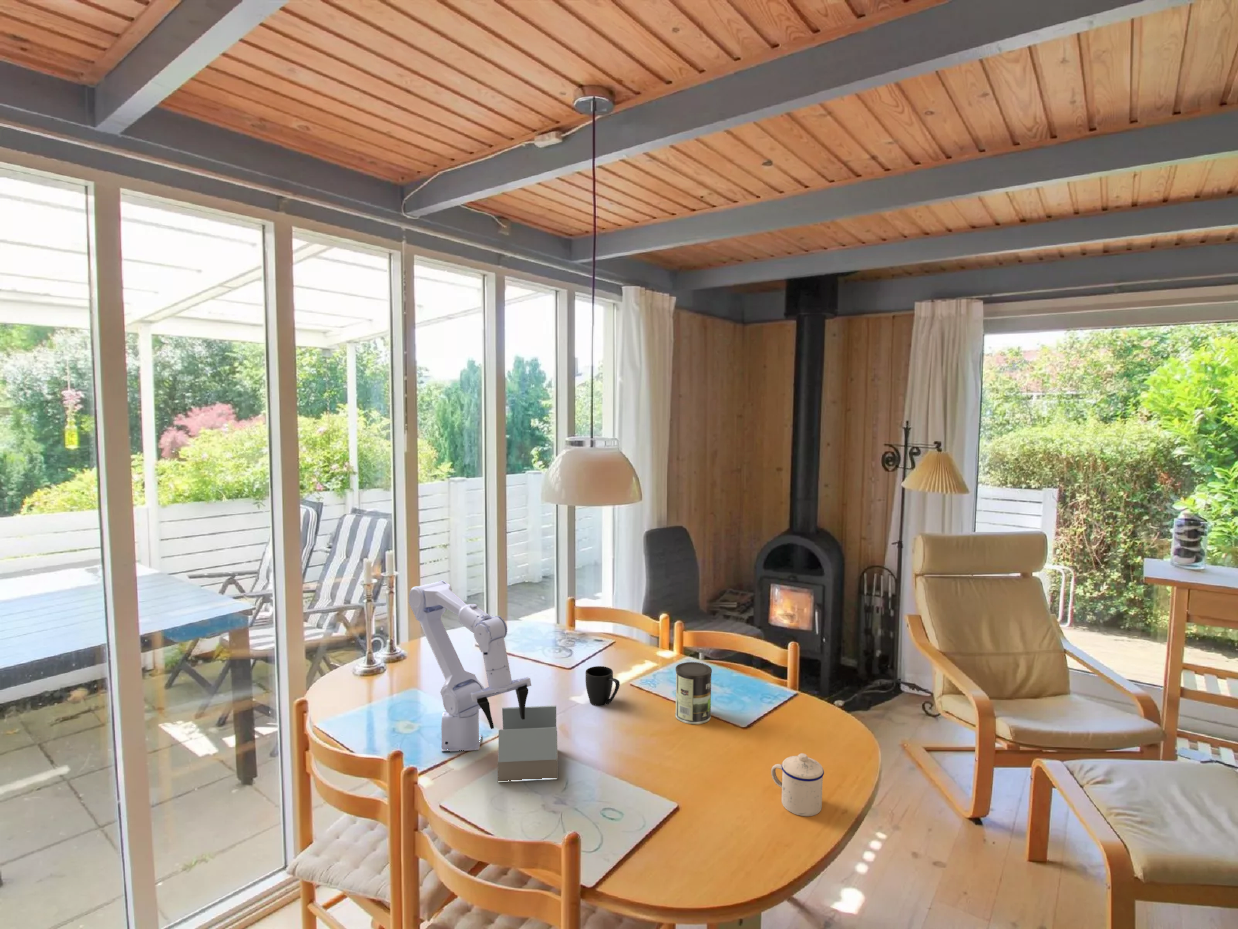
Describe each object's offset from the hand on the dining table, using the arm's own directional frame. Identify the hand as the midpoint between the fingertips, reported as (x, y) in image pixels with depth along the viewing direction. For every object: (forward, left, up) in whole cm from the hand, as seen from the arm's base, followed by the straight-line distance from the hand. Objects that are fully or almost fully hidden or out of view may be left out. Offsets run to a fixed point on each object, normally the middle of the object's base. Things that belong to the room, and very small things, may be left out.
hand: (507, 723), depth 160 cm
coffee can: (+51, +22, -11) cm, 57 cm away
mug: (+26, +32, -11) cm, 43 cm away
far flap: (+5, +6, -2) cm, 8 cm away
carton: (+5, 0, -11) cm, 12 cm away
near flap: (+5, -7, -2) cm, 9 cm away
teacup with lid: (+65, -21, -11) cm, 69 cm away
